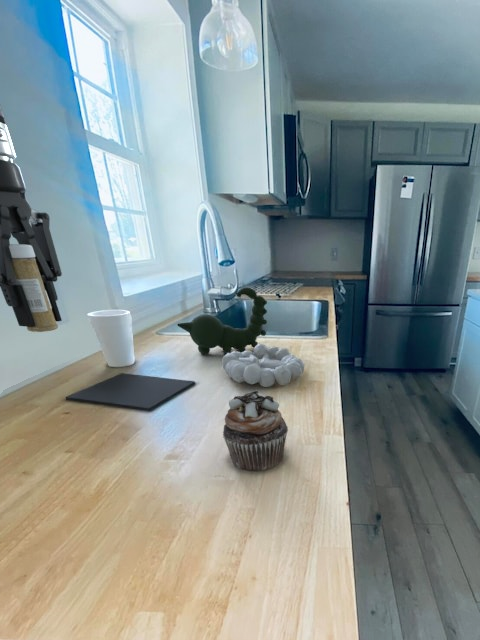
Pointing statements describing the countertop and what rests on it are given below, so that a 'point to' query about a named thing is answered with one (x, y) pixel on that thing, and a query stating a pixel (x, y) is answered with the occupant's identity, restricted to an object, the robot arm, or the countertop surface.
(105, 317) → the foam cup
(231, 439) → the cupcake
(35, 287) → the sprinkles bottle
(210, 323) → the toy figurine
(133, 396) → the corner mat
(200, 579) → the countertop surface
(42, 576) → the countertop surface
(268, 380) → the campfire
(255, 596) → the countertop surface
